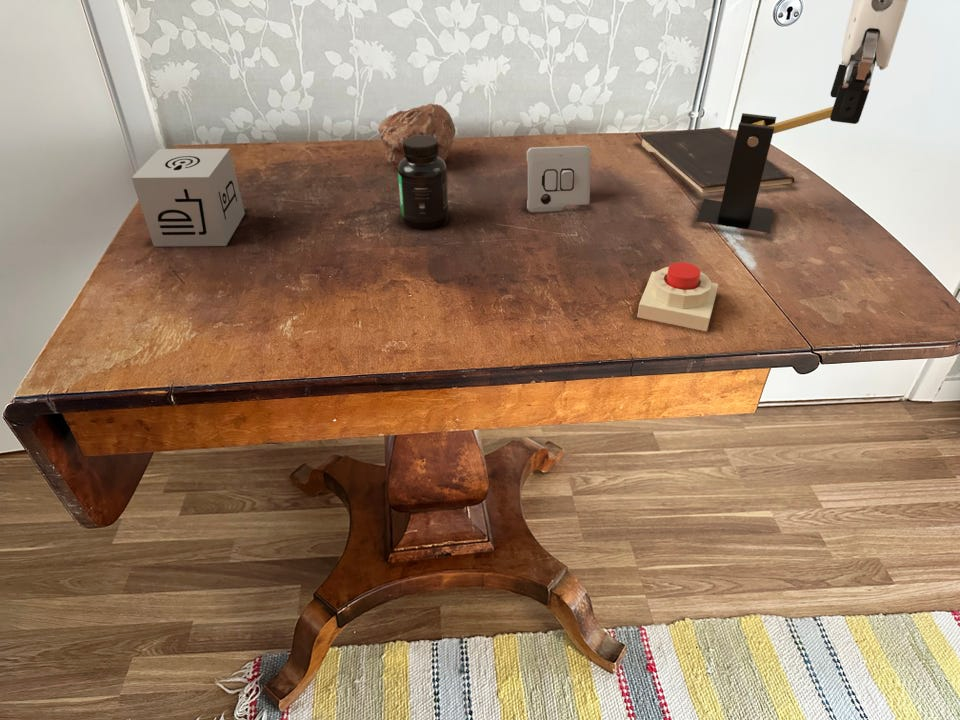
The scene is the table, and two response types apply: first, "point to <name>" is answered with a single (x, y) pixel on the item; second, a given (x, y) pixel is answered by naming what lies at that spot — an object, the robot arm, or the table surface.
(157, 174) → the icon cube
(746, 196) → the bracket
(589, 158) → the electrical switch
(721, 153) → the hardcover book
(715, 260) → the table surface
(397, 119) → the decorative rock
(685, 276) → the button
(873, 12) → the robot arm
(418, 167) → the supplement bottle
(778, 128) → the lever
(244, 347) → the table surface
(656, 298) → the switch box
